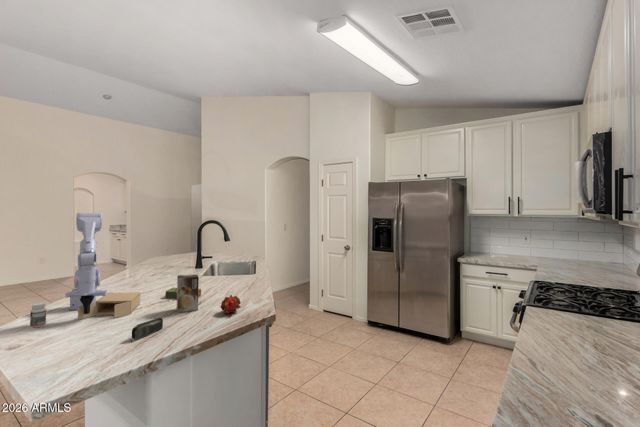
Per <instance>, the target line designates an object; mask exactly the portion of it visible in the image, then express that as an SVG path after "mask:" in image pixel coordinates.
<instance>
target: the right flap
mask: <svg viewBox="0 0 640 427" xmlns="http://www.w3.org/2000/svg"><path fill="white" fill-rule="evenodd" d="M130 309H131V302H126V303H121V304H117V305H115V306H114V314H113V317H114V319H115V318H116V319H117V318H120V317H123V316H127V315H131V314H130Z"/></svg>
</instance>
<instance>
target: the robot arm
mask: <svg viewBox="0 0 640 427" xmlns="http://www.w3.org/2000/svg"><path fill="white" fill-rule="evenodd" d="M75 219H76V223H75V224H76V229H77V232H80V233H81V234H82V236H83V238H82V239H81V240H80V242H79V254H78V255H77V268H78V269H77V270H75V272H74V279H73V280H74V281H73V288H72V290H71V291H67V292H65V298H69V308H68V310H69V311H70V310H71V311H74V310H75V311H76V310H77V311H78V306H82V305H83V306H84V314H89V313H90V304H91V303H95V304H96V301H97V297H103V296H106V295H107V293H108V290H107V289H106V290H104V289H103V290H102V289H101V290H97V288H98V287H99V286H100V285H101V270H100V269H99V268H98V267H97V264H98V253H97V241H96V240H95V236H96V234H97V232H100V231H101V229H102V226H103V213H101V212H98V213H97V212H96V213H95V212H94V213H93V212H77V213H76V218H75Z"/></svg>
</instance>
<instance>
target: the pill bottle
mask: <svg viewBox="0 0 640 427" xmlns="http://www.w3.org/2000/svg"><path fill="white" fill-rule="evenodd" d="M29 317H30V318H29V319H30V320H29V321H30V322H29V327H31V328H39V327H42V326H45V325H46V324H47V308H46V303H45V302H36V303H34V304H32V305H31V309H30V316H29Z"/></svg>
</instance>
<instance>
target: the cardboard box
mask: <svg viewBox="0 0 640 427" xmlns="http://www.w3.org/2000/svg"><path fill="white" fill-rule="evenodd" d="M126 302H131V309H130V314H129V315H131V314H132V313H133V312H134V311H135V310H136V309H137V308H138V307H139V306H140V305H141V292H133V291H132V292H107V295H106V296H100V297H99V299H96V304H95V315H94V316H105V315H104V314H112V315H114V306H115V305H117V304H121V303H126Z"/></svg>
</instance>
